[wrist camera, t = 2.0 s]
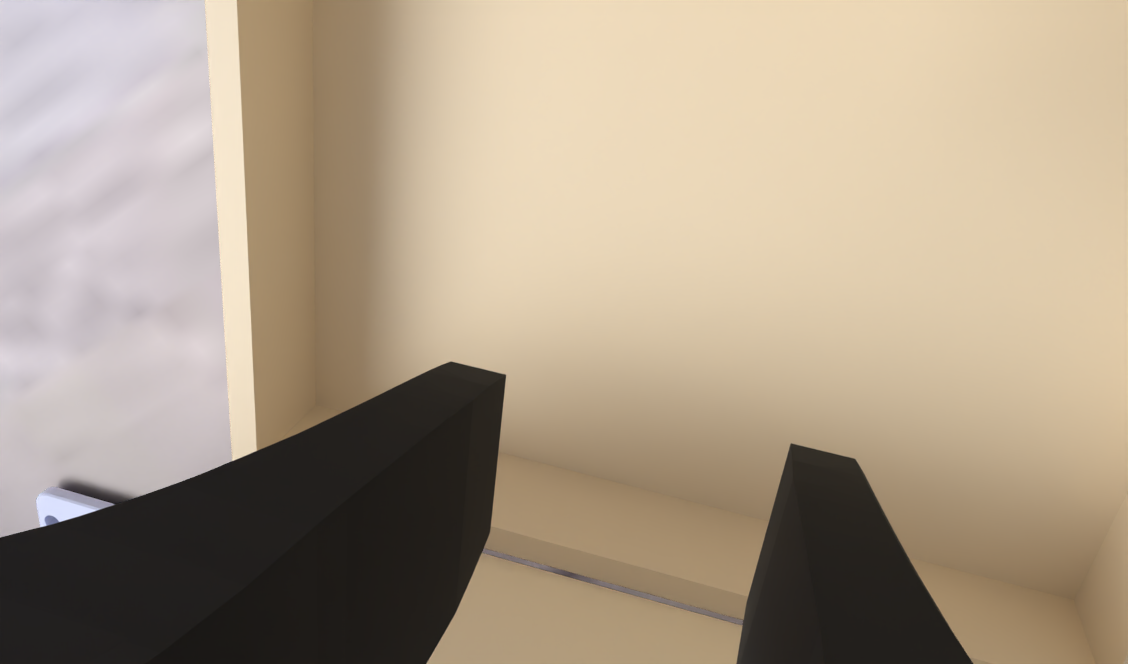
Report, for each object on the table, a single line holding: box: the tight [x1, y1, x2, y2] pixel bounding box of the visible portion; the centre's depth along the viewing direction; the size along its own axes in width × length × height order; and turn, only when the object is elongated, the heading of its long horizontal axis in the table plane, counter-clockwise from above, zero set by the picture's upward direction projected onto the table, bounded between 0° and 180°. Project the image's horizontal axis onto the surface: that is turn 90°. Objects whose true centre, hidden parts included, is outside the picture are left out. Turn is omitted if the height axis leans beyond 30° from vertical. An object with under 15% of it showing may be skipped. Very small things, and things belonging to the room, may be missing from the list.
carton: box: [205, 0, 1128, 664], centre depth 16 cm, size 14×18×3 cm
